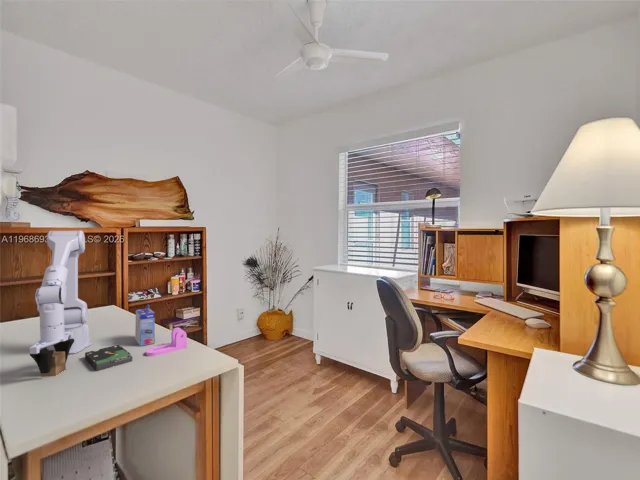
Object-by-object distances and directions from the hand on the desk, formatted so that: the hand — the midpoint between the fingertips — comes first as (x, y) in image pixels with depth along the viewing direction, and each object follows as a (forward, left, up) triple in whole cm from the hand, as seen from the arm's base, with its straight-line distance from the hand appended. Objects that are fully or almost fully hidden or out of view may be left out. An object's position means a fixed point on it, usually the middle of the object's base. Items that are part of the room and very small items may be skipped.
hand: (53, 367), depth 97 cm
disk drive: (-9, +11, -2) cm, 14 cm away
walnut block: (0, 0, -2) cm, 2 cm away
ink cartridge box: (-26, +15, -2) cm, 30 cm away
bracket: (-16, +27, -2) cm, 31 cm away
